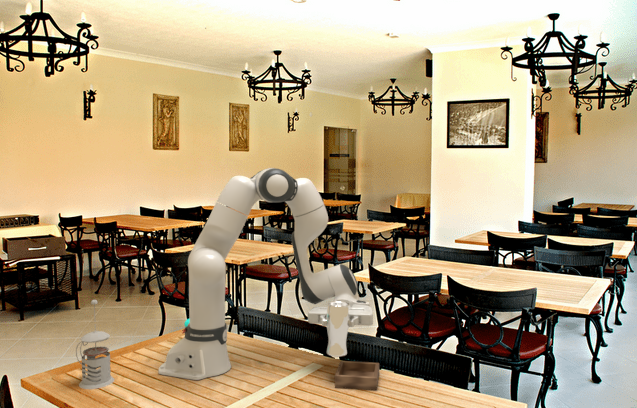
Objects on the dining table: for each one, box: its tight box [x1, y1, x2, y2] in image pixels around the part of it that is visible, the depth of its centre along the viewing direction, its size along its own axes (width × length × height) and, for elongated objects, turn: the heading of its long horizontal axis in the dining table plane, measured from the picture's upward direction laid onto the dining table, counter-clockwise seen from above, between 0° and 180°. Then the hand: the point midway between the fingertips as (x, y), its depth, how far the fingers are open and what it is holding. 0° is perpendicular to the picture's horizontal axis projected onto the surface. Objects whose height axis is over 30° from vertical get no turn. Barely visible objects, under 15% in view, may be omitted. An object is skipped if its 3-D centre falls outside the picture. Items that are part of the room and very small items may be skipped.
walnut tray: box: [334, 360, 380, 392], centre depth 148 cm, size 12×12×4 cm
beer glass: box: [326, 300, 350, 358], centre depth 148 cm, size 7×7×15 cm
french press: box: [75, 299, 115, 390], centre depth 149 cm, size 10×12×25 cm
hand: (337, 323), depth 147 cm, fingers closed on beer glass, 7 cm apart
